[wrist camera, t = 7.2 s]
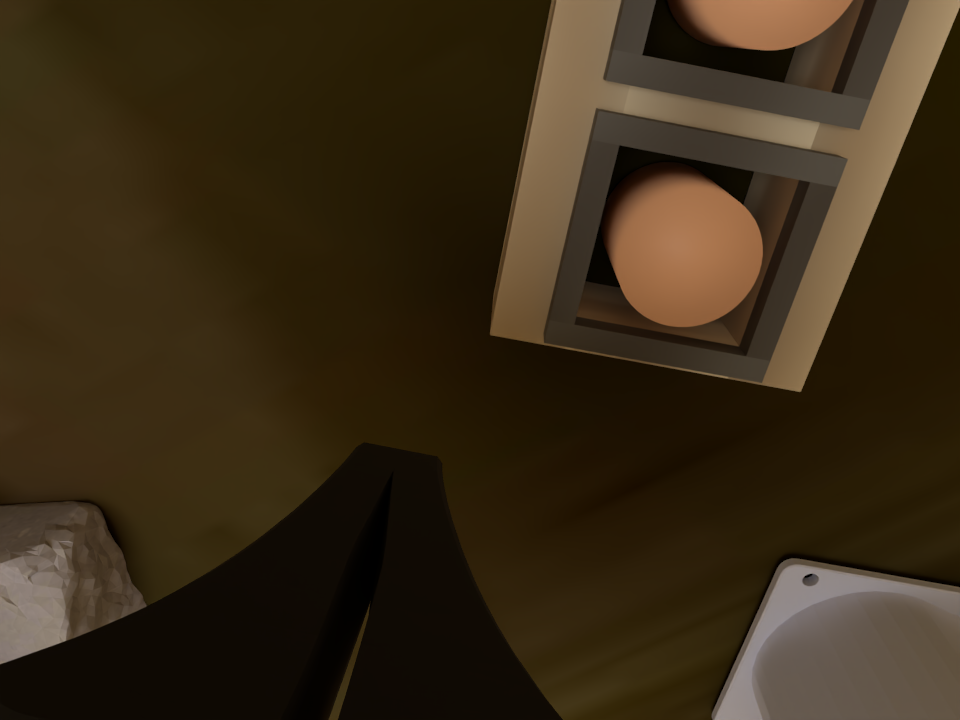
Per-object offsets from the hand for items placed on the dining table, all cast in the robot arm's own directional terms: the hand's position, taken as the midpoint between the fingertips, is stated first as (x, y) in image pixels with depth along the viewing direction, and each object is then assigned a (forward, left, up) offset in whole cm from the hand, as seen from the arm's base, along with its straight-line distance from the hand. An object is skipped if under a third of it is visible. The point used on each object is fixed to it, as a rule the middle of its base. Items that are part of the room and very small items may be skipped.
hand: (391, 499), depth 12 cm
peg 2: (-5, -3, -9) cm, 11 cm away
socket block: (-5, -6, -10) cm, 13 cm away
